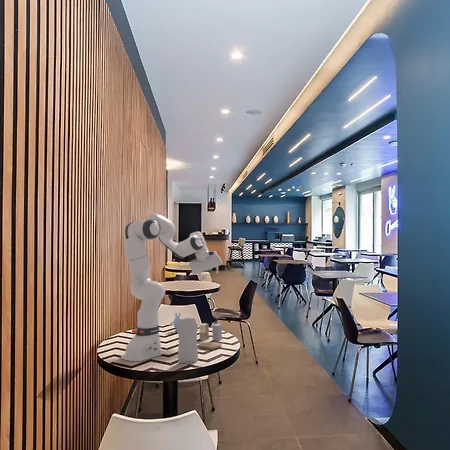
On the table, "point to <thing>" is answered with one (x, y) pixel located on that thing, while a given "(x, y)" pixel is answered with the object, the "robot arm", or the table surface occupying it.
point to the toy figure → (176, 321)
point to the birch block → (204, 331)
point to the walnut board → (209, 346)
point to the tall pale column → (187, 340)
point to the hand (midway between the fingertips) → (210, 276)
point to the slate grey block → (217, 332)
